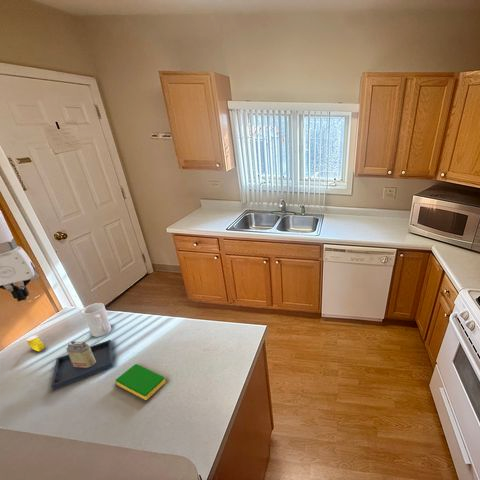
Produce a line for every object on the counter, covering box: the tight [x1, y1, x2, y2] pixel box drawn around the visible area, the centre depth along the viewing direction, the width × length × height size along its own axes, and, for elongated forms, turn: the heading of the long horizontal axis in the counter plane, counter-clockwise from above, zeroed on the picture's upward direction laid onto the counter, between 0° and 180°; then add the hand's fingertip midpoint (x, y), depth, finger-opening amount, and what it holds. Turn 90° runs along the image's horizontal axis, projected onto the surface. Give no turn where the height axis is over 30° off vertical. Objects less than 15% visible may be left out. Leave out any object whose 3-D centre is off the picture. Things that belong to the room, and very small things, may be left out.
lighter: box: [66, 340, 96, 368], centre depth 89 cm, size 7×4×10 cm, turn 88°
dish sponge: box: [115, 363, 166, 401], centre depth 85 cm, size 7×14×2 cm, turn 69°
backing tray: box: [51, 339, 114, 391], centre depth 91 cm, size 15×13×2 cm
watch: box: [26, 334, 45, 352], centre depth 94 cm, size 6×3×6 cm, turn 73°
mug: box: [81, 302, 112, 338], centre depth 102 cm, size 10×7×12 cm, turn 52°
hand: (23, 298), depth 81 cm, fingers closed
